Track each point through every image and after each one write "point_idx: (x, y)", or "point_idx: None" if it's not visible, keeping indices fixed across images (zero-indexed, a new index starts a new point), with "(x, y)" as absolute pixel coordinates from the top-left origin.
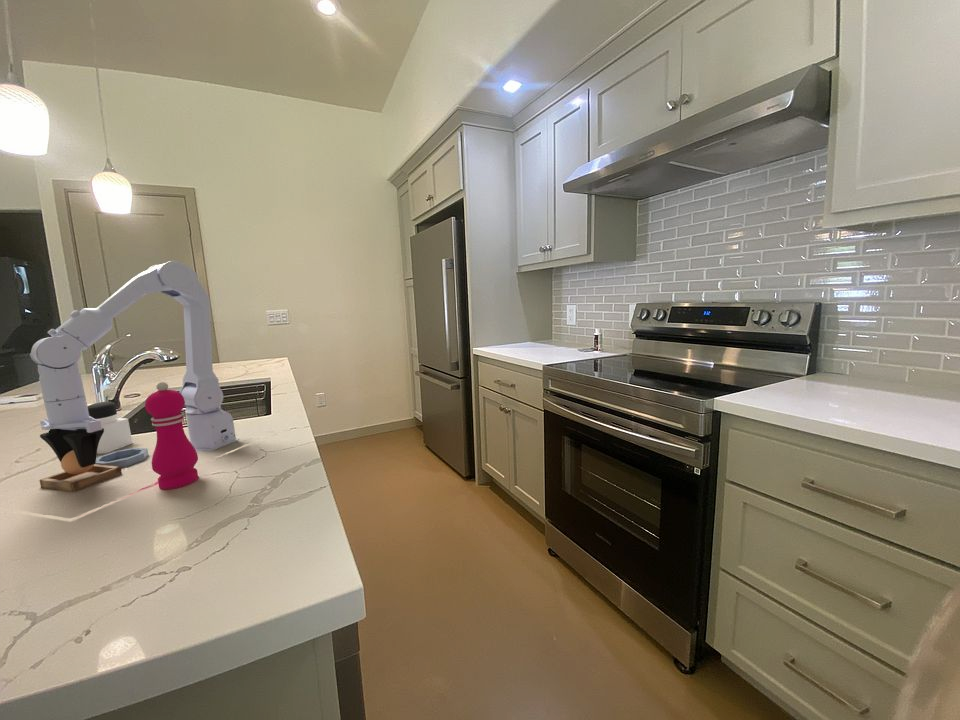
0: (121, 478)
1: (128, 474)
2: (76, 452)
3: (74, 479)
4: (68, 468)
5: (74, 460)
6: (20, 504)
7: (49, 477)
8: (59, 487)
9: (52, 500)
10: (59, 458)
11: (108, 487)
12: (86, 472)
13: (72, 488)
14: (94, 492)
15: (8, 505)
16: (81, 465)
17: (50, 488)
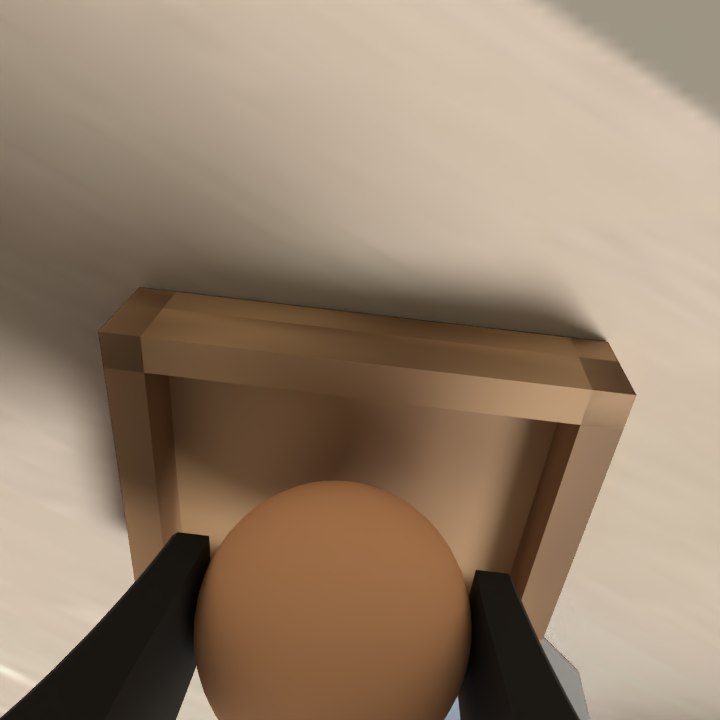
0: (123, 518)
1: None
2: (77, 684)
3: (414, 471)
4: (288, 504)
5: (224, 595)
6: (442, 55)
7: (582, 442)
8: (333, 331)
9: (197, 167)
10: (511, 638)
11: (18, 400)
12: (470, 570)
13: (138, 312)
14: (12, 324)
15: (564, 17)
16: (175, 547)
17: (472, 336)
